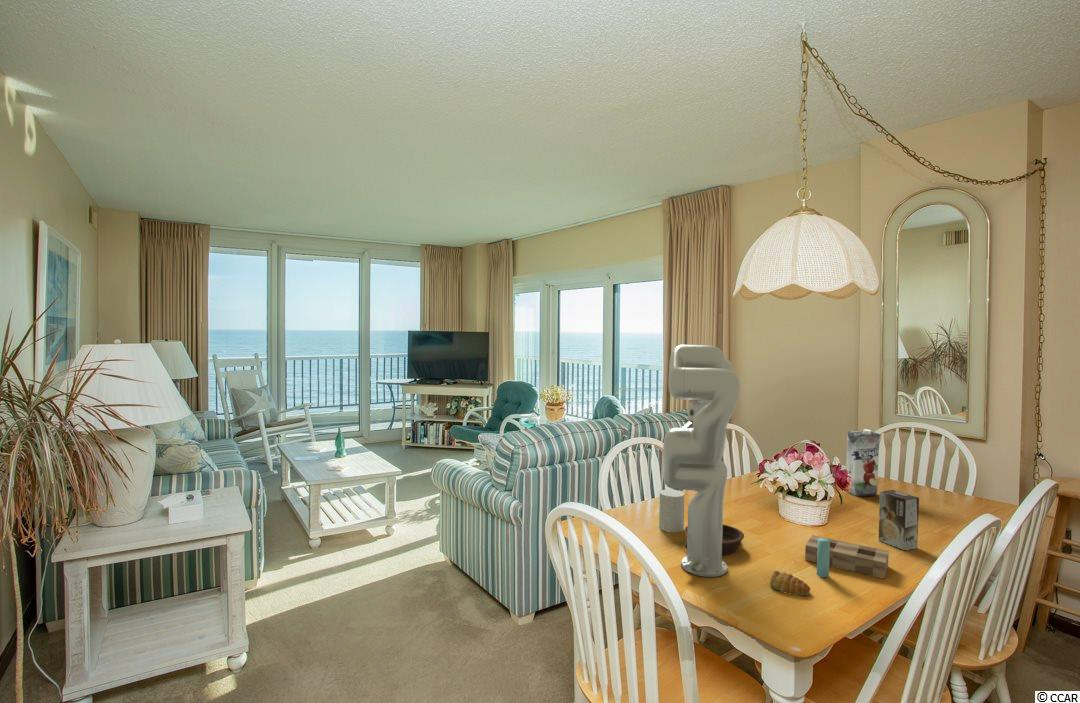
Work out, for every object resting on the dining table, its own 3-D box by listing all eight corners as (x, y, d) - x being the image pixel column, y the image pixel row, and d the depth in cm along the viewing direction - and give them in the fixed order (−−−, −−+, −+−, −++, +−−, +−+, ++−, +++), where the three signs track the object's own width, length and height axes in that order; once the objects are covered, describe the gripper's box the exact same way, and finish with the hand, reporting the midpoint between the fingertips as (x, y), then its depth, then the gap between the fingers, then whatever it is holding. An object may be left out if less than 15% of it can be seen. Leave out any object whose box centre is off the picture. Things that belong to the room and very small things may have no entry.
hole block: (884, 579, 152) (885, 562, 152) (805, 560, 164) (805, 545, 164) (888, 566, 160) (888, 551, 160) (811, 549, 172) (812, 535, 172)
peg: (827, 579, 152) (828, 543, 151) (815, 576, 153) (816, 540, 153) (829, 575, 154) (830, 539, 154) (817, 572, 156) (818, 537, 155)
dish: (760, 549, 172) (761, 533, 172) (712, 565, 160) (712, 548, 160) (715, 531, 187) (715, 516, 187) (667, 544, 175) (668, 529, 175)
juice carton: (842, 491, 233) (844, 427, 231) (864, 490, 235) (866, 426, 233) (857, 497, 224) (860, 431, 223) (880, 496, 226) (883, 430, 225)
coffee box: (918, 548, 173) (921, 497, 172) (904, 551, 171) (906, 499, 170) (891, 537, 182) (892, 489, 181) (876, 540, 180) (878, 491, 179)
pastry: (813, 591, 145) (813, 576, 145) (805, 601, 140) (805, 586, 140) (775, 580, 151) (776, 566, 151) (767, 589, 146) (767, 575, 146)
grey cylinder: (654, 525, 191) (654, 491, 191) (672, 522, 195) (673, 488, 194) (669, 533, 184) (670, 497, 183) (688, 529, 188) (689, 494, 187)
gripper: (692, 402, 179) (691, 455, 179) (728, 399, 188) (727, 450, 188) (675, 400, 185) (674, 451, 185) (711, 397, 194) (710, 446, 195)
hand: (701, 450), depth 187 cm, fingers open, 9 cm apart
